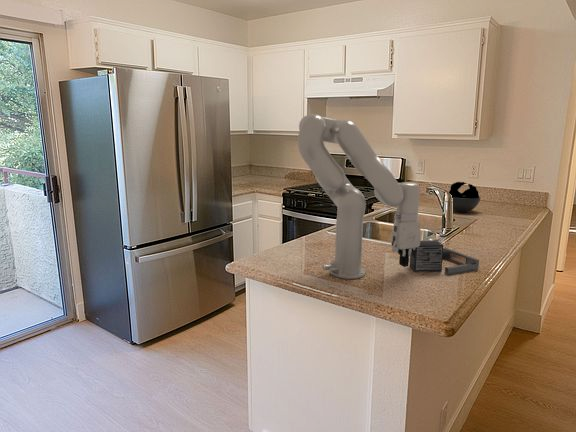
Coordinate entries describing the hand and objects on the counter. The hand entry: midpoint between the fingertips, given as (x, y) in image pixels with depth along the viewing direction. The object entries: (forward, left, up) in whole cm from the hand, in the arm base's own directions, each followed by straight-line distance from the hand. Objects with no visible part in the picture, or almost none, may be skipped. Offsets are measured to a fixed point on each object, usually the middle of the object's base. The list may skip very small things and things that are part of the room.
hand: (403, 265), depth 156 cm
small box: (+10, 0, -3) cm, 11 cm away
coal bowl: (+107, +77, -3) cm, 132 cm away
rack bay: (+21, 0, -3) cm, 21 cm away
